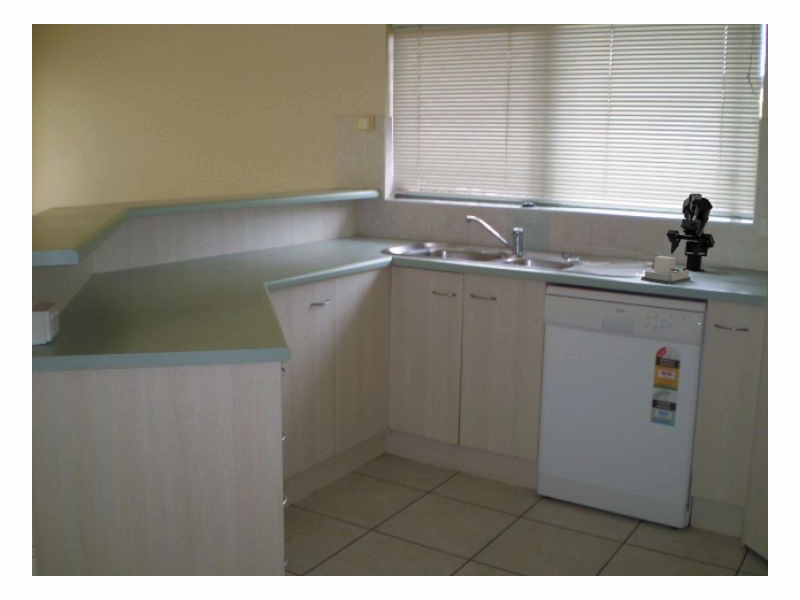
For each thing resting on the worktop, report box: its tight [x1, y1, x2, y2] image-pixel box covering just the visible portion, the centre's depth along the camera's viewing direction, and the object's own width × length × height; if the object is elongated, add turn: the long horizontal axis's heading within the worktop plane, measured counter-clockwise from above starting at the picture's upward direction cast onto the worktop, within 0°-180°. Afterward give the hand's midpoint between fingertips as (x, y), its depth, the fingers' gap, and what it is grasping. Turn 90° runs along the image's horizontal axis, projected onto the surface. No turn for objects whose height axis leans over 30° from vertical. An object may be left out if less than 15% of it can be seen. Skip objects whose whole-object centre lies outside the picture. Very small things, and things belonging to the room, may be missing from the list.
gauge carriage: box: [653, 255, 680, 274], centre depth 346 cm, size 5×9×8 cm, turn 45°
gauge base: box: [640, 269, 691, 285], centre depth 349 cm, size 14×13×4 cm
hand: (682, 254), depth 355 cm, fingers open, 9 cm apart
